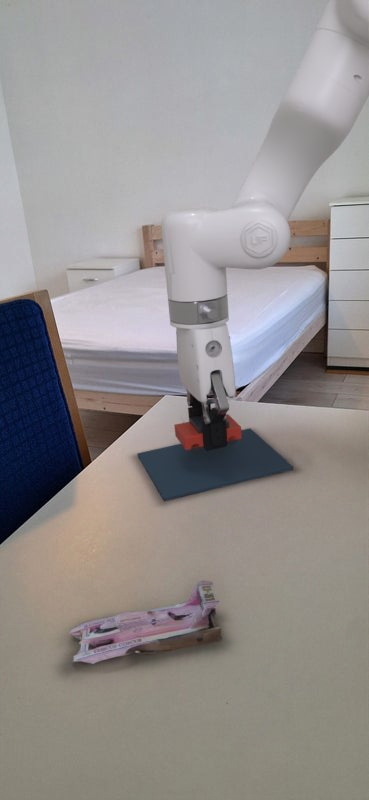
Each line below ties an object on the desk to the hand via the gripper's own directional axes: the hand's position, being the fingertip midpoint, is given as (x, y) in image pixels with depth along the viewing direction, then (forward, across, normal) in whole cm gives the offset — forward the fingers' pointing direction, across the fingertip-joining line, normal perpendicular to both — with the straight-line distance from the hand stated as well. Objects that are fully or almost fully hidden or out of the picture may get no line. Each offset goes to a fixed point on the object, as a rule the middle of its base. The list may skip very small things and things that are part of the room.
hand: (208, 438), depth 82 cm
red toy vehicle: (-1, -2, 0) cm, 3 cm away
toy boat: (+4, -29, +17) cm, 34 cm away
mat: (+4, 0, 0) cm, 4 cm away
